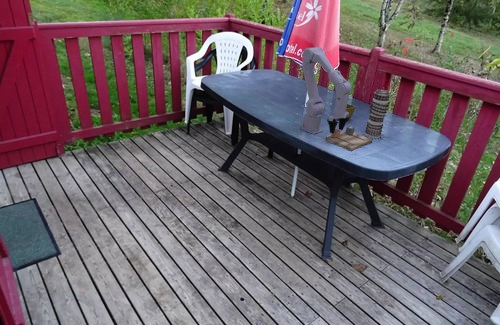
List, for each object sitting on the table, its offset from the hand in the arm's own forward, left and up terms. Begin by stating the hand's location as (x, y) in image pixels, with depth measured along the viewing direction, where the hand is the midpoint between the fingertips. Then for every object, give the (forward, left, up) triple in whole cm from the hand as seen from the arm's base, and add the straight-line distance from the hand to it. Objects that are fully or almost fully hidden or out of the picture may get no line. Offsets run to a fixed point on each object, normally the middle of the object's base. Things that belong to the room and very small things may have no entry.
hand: (336, 131), depth 185 cm
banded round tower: (+8, +24, -5) cm, 26 cm away
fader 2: (+2, +10, -3) cm, 11 cm away
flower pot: (-16, +30, -5) cm, 34 cm away
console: (+5, +5, -5) cm, 9 cm away
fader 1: (0, 0, -3) cm, 3 cm away
